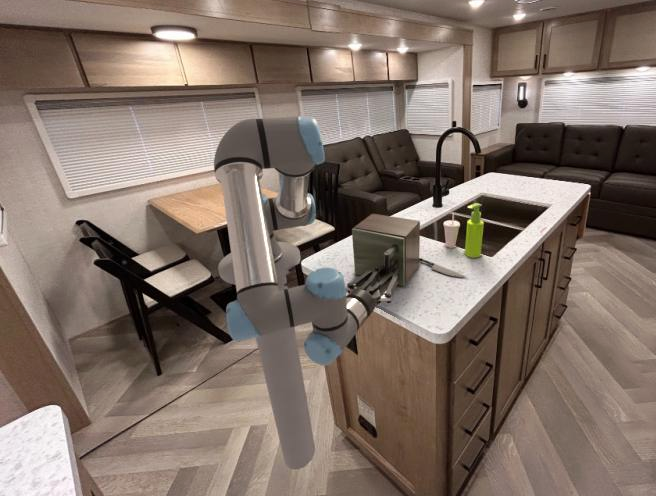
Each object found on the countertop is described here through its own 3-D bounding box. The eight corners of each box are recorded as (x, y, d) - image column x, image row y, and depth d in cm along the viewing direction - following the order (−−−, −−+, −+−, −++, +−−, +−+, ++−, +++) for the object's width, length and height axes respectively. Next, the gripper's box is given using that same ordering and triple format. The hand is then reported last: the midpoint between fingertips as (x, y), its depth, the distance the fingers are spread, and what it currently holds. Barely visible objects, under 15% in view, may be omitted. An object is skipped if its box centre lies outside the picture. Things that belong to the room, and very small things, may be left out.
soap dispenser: (459, 253, 121) (463, 204, 113) (472, 248, 125) (476, 200, 117) (471, 260, 117) (475, 208, 109) (483, 254, 120) (489, 204, 113)
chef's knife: (462, 281, 104) (466, 277, 106) (462, 279, 103) (466, 274, 105) (414, 263, 115) (419, 259, 117) (414, 260, 114) (419, 256, 116)
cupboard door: (394, 298, 96) (393, 249, 89) (343, 284, 102) (339, 237, 96) (404, 284, 102) (404, 237, 96) (356, 272, 109) (353, 228, 103)
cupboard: (405, 284, 103) (405, 236, 96) (356, 272, 109) (353, 227, 103) (419, 264, 114) (420, 220, 107) (374, 255, 120) (372, 213, 114)
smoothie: (449, 250, 123) (451, 217, 118) (439, 244, 128) (440, 211, 123) (461, 246, 126) (464, 213, 121) (451, 240, 131) (453, 208, 126)
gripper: (330, 314, 82) (372, 269, 102) (382, 329, 77) (416, 279, 97) (327, 289, 79) (371, 248, 99) (381, 304, 74) (416, 257, 94)
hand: (393, 263), depth 98 cm, fingers closed on cupboard door, 2 cm apart
